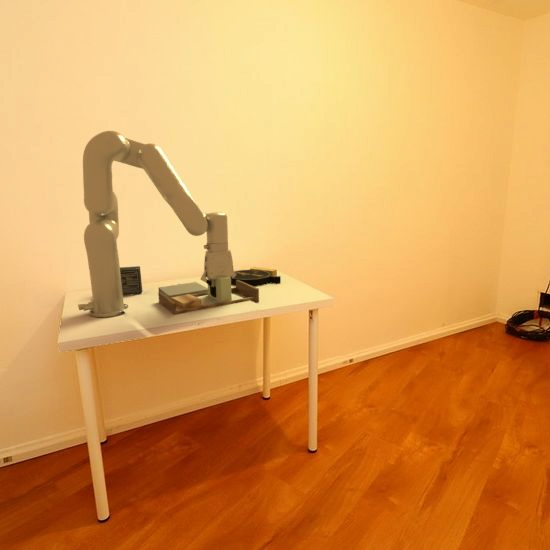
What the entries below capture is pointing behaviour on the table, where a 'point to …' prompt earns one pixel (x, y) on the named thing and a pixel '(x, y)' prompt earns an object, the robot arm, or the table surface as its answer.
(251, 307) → the table surface
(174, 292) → the grey board
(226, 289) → the pale green block
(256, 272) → the decorative sign
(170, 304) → the frame
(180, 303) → the upper offcut
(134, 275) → the small box
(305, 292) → the table surface
